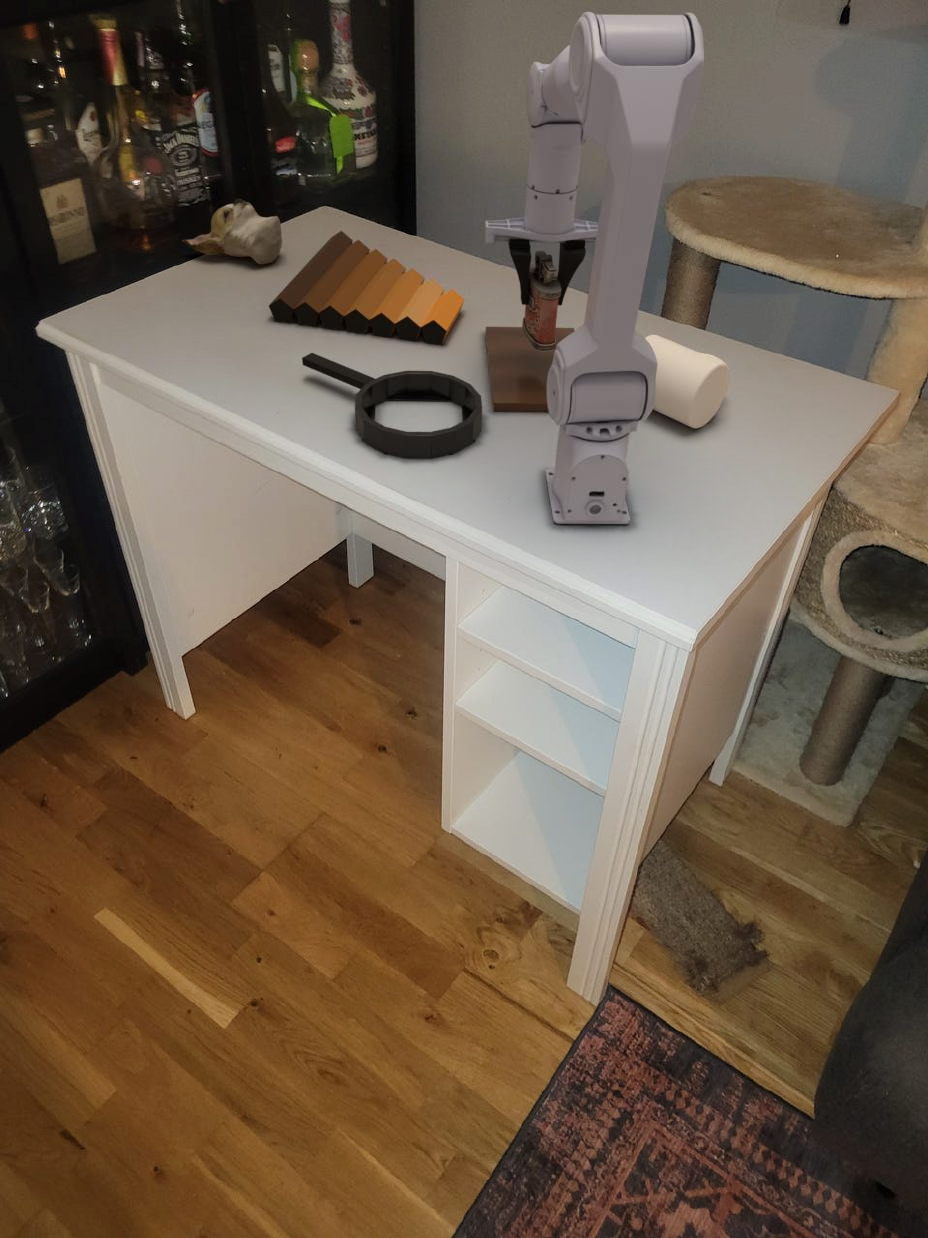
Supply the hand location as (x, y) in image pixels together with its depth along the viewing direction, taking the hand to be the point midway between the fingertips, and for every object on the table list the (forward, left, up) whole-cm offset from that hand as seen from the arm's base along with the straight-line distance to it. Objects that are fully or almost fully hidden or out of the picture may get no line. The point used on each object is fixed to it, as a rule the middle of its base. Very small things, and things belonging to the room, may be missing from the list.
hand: (541, 301), depth 116 cm
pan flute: (+22, +20, -10) cm, 31 cm away
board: (0, 0, -9) cm, 9 cm away
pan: (-11, +18, -9) cm, 23 cm away
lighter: (0, 0, -5) cm, 5 cm away
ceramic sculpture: (+35, +42, -10) cm, 55 cm away
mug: (-8, -17, -10) cm, 21 cm away
